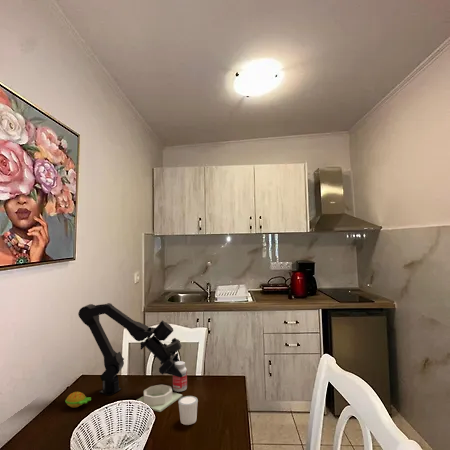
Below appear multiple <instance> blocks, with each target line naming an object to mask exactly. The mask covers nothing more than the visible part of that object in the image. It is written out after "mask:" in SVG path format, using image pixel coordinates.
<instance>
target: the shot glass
mask: <svg viewBox="0 0 450 450" xmlns="http://www.w3.org/2000/svg"><path fill="white" fill-rule="evenodd" d="M177 401H178V402H177V403H178V411H179V419H180V424H183V425H185V426H189V425H193V424H195V423H196V422H197V420H198V419H197V416H198V402H199V400H198V397H196V396H193V395H186V396H182V397H181V398H179V399H178V400H177Z"/></svg>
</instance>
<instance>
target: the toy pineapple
mask: <svg viewBox="0 0 450 450" xmlns="http://www.w3.org/2000/svg"><path fill="white" fill-rule="evenodd" d="M64 401H65V404H66V405H67V406H68V407H70V408H72V409H73V408H79V407H80V406H82V405H83V404H88V402H90V401H92V397H89V396H88V397H87V396H86V395H85V394H84V392H81V391H74V392H72V393H70V394H69V395H68V396H67V397H66V398H65V400H64Z"/></svg>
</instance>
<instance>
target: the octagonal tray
mask: <svg viewBox="0 0 450 450" xmlns="http://www.w3.org/2000/svg"><path fill="white" fill-rule="evenodd" d="M182 397H183V394H181V393H179V392H178V393H177V392H175V391H174V392H173V387H172V386H170V385H167V384H156V385H155V384H154V385H151V386H149V387H147V388H145V389H144V390H143V396H141V397H139V398H137V399H136V400H139V401H142V402H144V403H146V404H148V405H149V406H150V407H151V408H152V409H153V410H152V411H155V412H159V413H161V412H163V411H164V410H165V409H166V408H168V407H170V406H171V405H172V404H173V403H175V402H176V401H179V399H181V398H182Z"/></svg>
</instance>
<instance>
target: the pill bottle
mask: <svg viewBox="0 0 450 450" xmlns="http://www.w3.org/2000/svg"><path fill="white" fill-rule="evenodd" d="M175 366H176V367H177V368H178V370H179V371H180V372H181V374H182V375H183V376H182V377H177V376H174V375H172V391H174V392H176V393H177V392H178V393H179V392H184V391H186V390H187V388H188V369H187V367H186V362H185V361H183V360H180V361H177V362H175Z"/></svg>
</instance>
